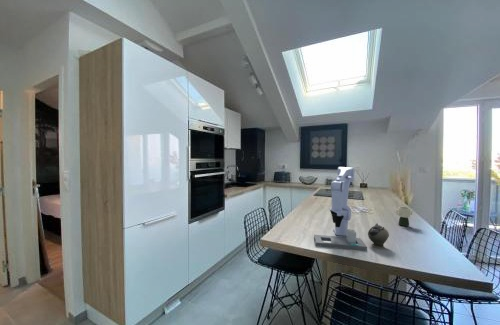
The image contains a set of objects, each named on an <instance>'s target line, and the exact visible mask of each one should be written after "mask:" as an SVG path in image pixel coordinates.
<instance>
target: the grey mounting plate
mask: <svg viewBox="0 0 500 325" xmlns="http://www.w3.org/2000/svg"><path fill="white" fill-rule="evenodd" d="M313 238H314V243H315V246H316V247H323V248H324V247H325V248H333V249H334V248H336V249H343V250H344V249H345V250H355V251H368V246H367V245H366V243H365V242H364V241H363V239H361V238H359V237H356V244H355V243H348V242H347V240H346V236H340V235H323V234H314V235H313Z"/></svg>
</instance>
